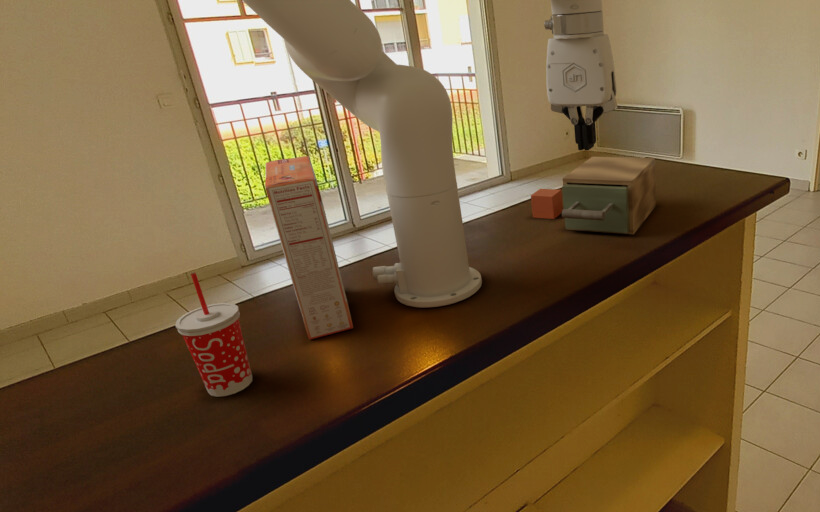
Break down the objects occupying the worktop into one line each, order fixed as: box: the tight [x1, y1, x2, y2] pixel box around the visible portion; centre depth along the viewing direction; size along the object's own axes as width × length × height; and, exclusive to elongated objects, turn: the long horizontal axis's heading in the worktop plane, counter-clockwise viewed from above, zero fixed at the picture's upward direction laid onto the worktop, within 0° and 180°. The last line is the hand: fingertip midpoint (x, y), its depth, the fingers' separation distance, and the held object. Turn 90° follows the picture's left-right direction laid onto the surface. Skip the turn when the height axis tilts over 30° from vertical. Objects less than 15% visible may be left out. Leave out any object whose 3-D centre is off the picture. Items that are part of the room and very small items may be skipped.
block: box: [530, 188, 564, 220], centre depth 118 cm, size 4×4×4 cm
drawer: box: [561, 183, 629, 233], centre depth 108 cm, size 21×11×8 cm, turn 159°
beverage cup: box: [174, 272, 253, 398], centre depth 67 cm, size 6×6×14 cm
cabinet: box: [562, 156, 657, 235], centre depth 113 cm, size 16×13×10 cm
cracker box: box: [264, 155, 354, 340], centre depth 81 cm, size 14×6×21 cm, turn 25°
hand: (586, 148), depth 98 cm, fingers closed
